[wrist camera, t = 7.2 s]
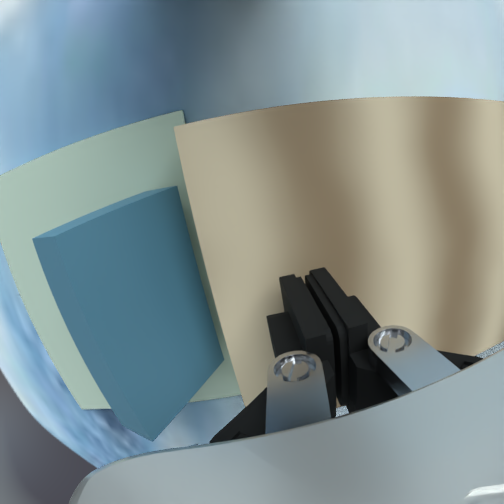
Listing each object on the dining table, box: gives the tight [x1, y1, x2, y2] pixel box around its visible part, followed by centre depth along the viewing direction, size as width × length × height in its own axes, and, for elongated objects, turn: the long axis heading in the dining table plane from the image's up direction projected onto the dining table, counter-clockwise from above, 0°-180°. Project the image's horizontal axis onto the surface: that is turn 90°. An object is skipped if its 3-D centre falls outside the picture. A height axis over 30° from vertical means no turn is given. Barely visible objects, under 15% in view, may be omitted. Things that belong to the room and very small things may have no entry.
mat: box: [0, 110, 241, 409], centre depth 16 cm, size 12×16×1 cm
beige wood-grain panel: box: [174, 97, 504, 408], centre depth 14 cm, size 22×14×4 cm, turn 101°
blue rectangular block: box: [32, 186, 224, 442], centre depth 13 cm, size 6×9×2 cm
